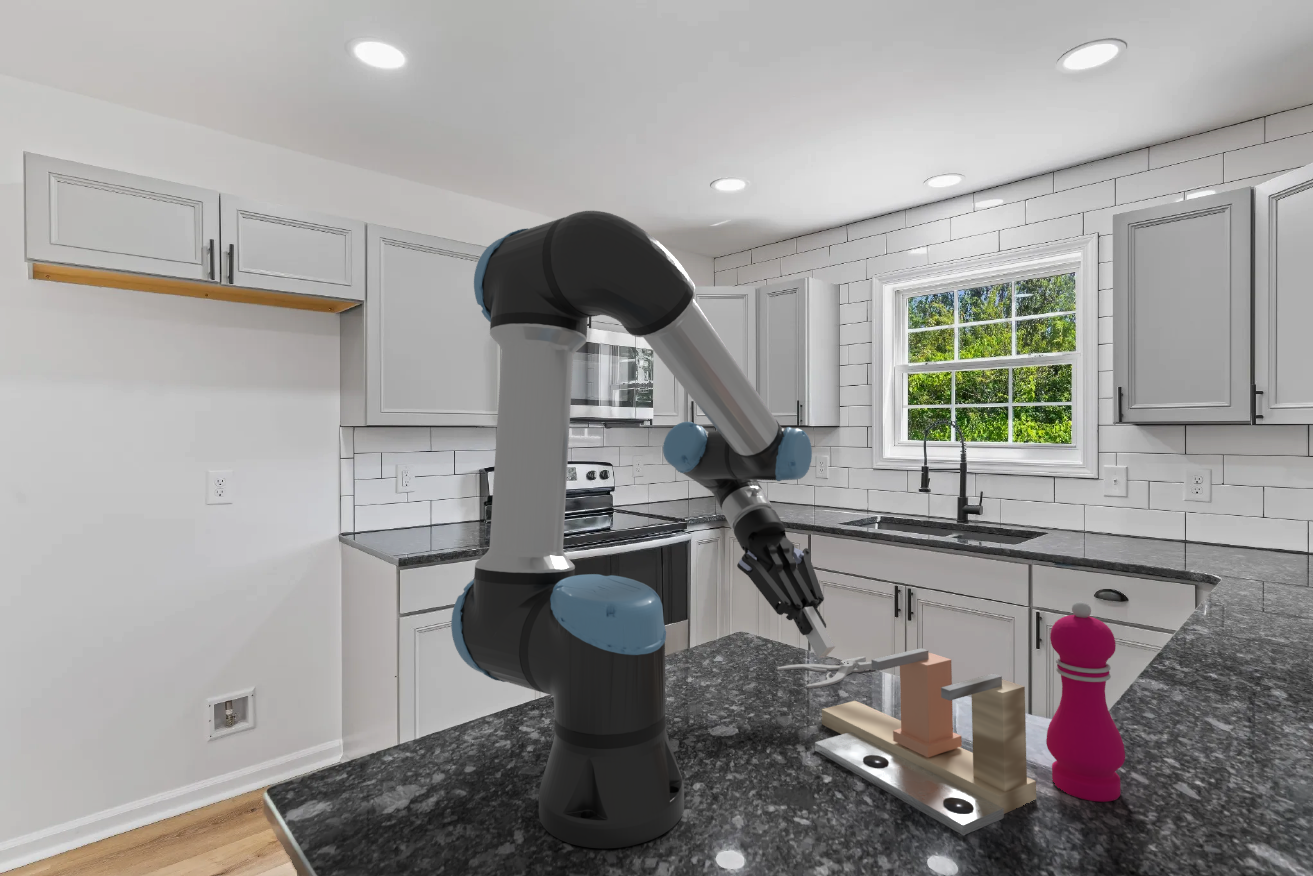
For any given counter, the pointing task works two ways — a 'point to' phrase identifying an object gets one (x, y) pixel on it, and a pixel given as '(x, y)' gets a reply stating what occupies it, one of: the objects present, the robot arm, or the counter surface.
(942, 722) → the slide leg
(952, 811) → the hole plate
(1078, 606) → the pepper mill
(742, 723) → the counter surface
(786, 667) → the pliers
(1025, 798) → the rail
